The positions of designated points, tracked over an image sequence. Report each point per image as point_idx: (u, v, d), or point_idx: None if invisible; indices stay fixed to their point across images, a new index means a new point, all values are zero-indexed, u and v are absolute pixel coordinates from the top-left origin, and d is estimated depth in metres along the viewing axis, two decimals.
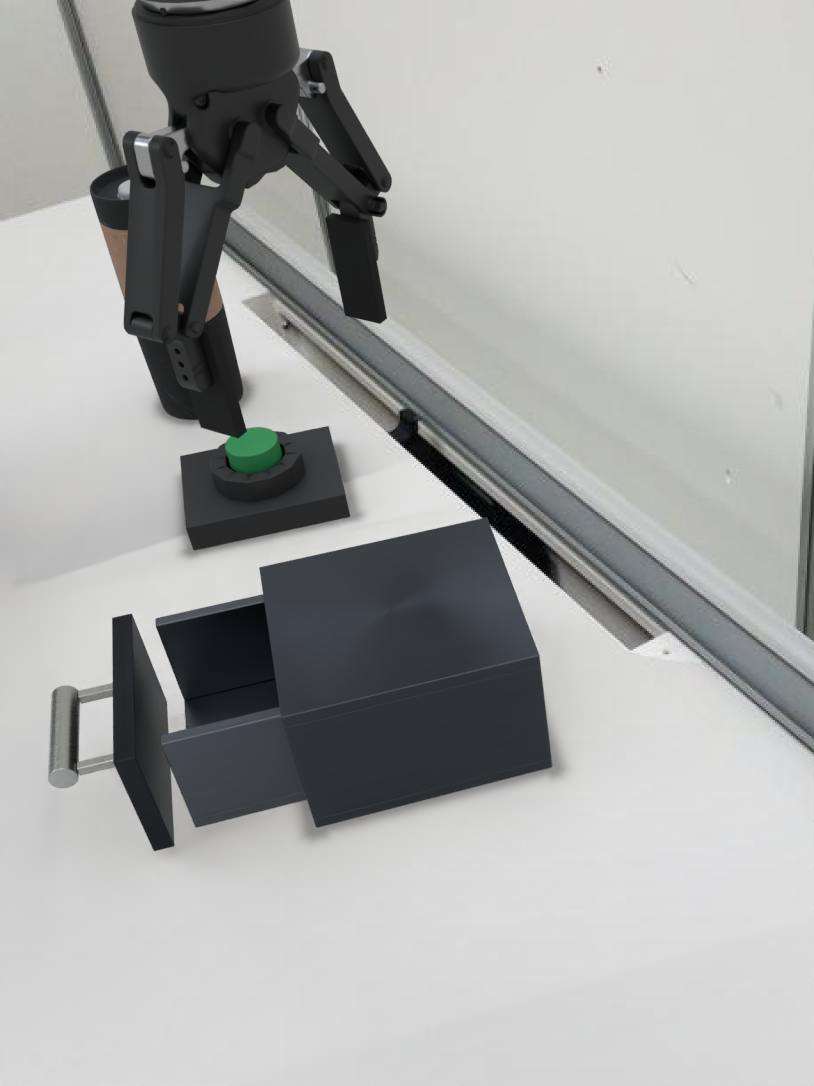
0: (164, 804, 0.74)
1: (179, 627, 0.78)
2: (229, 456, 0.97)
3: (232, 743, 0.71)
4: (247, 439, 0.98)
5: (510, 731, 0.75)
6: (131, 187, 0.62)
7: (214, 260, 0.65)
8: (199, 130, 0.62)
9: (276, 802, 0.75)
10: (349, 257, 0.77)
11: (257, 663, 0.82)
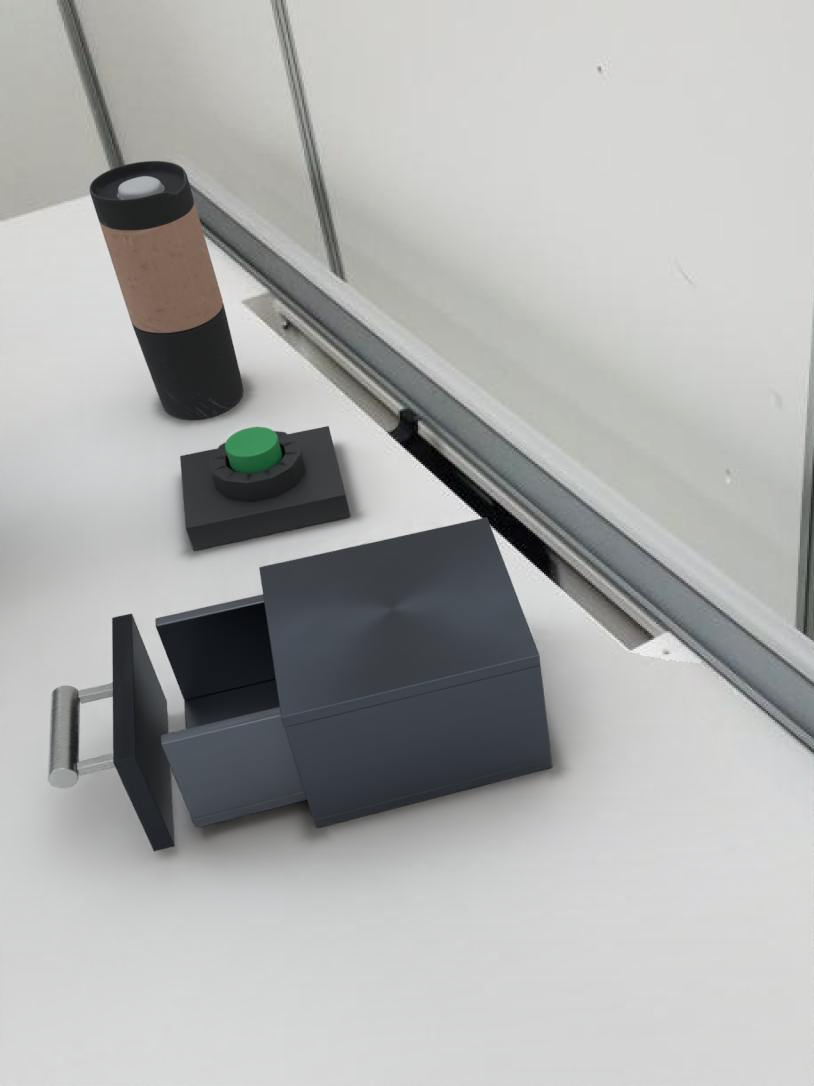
0: (164, 804, 0.74)
1: (179, 627, 0.78)
2: (229, 456, 0.97)
3: (232, 743, 0.71)
4: (247, 439, 0.98)
5: (510, 731, 0.75)
6: None
7: None
8: None
9: (276, 802, 0.75)
10: None
11: (257, 663, 0.82)
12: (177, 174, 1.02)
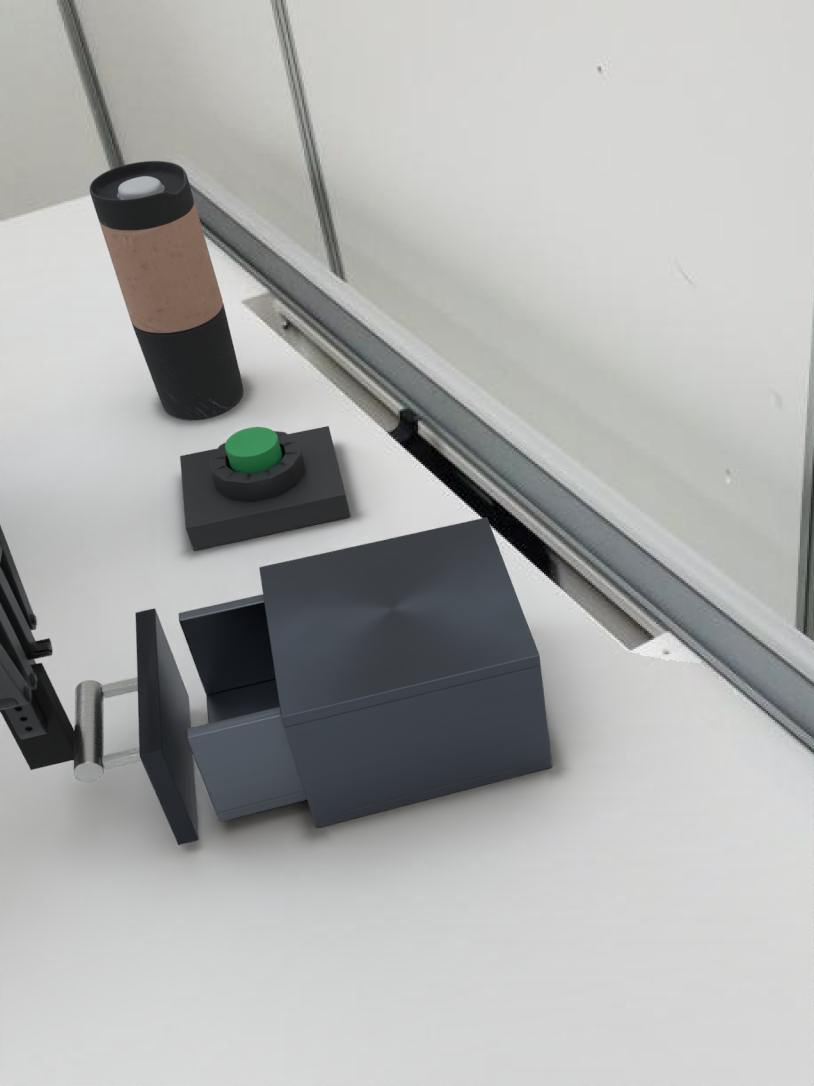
0: (188, 798, 0.74)
1: (202, 622, 0.78)
2: (229, 456, 0.97)
3: (256, 737, 0.72)
4: (247, 439, 0.98)
5: (510, 731, 0.75)
6: None
7: (9, 627, 0.68)
8: None
9: (300, 796, 0.76)
10: None
11: None
12: (177, 174, 1.02)
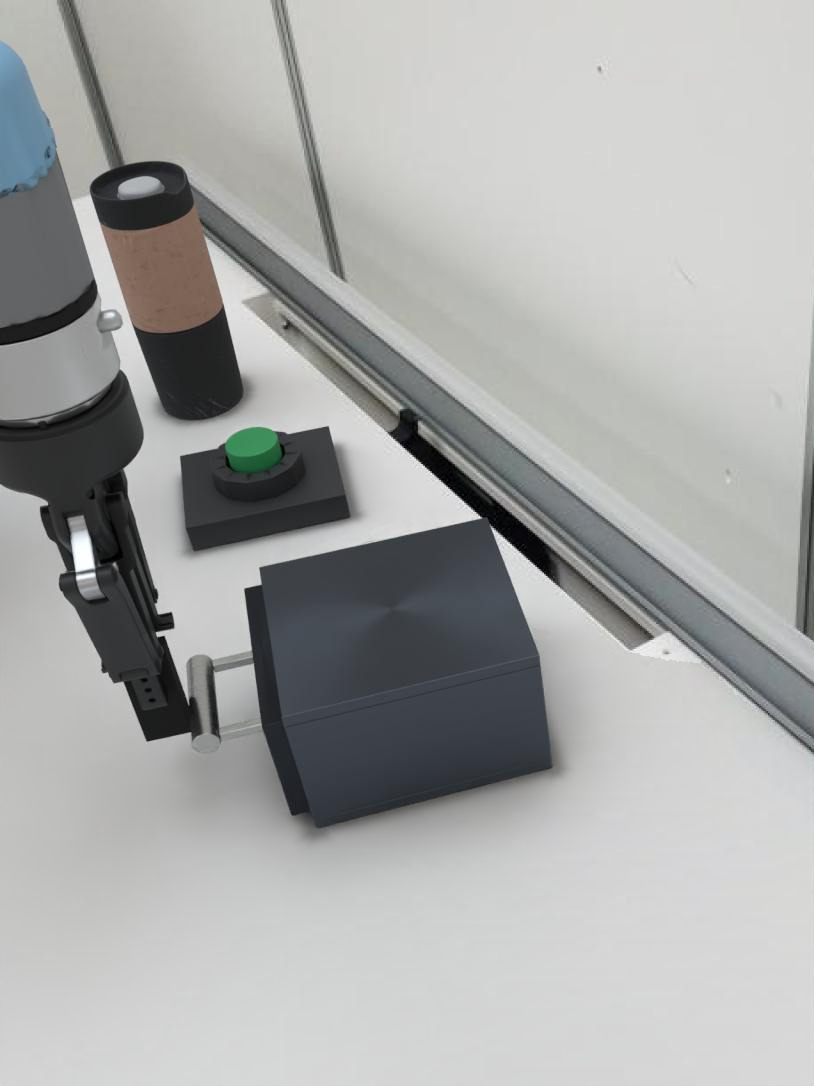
0: None
1: None
2: (229, 456, 0.97)
3: None
4: (247, 439, 0.98)
5: (510, 731, 0.75)
6: (78, 610, 0.63)
7: (142, 599, 0.69)
8: (97, 519, 0.62)
9: None
10: None
11: None
12: (177, 174, 1.02)
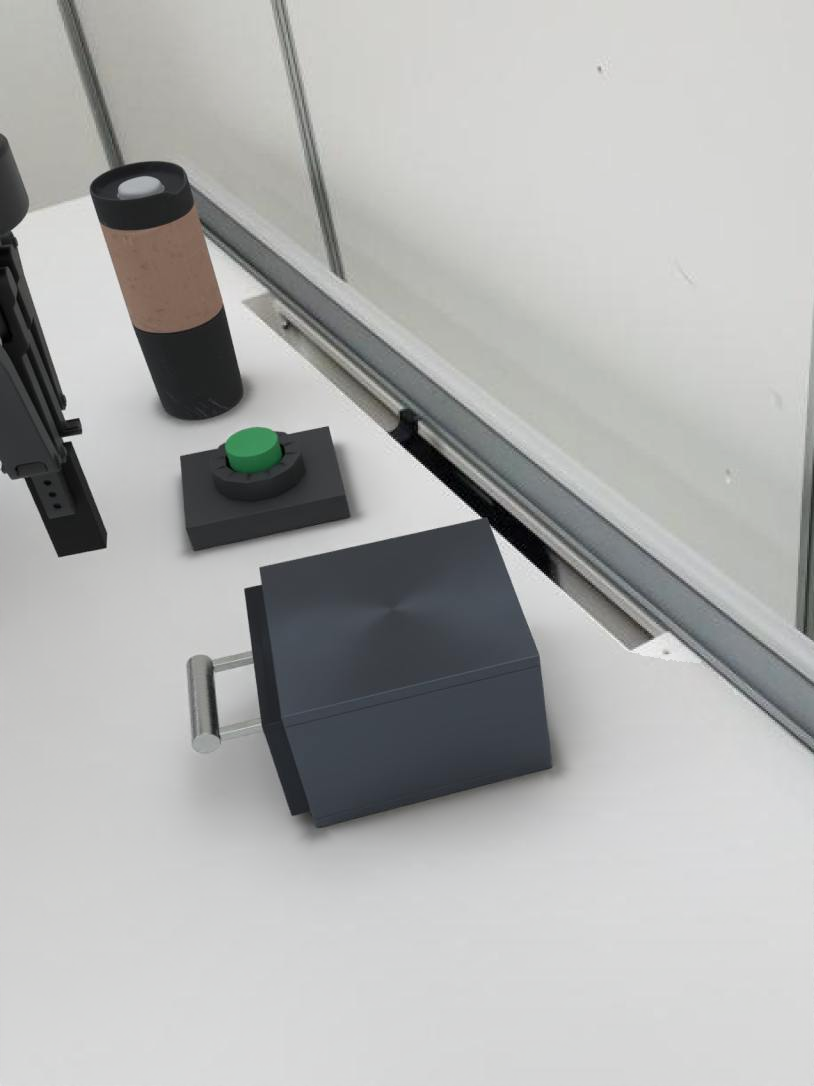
0: None
1: None
2: (229, 456, 0.97)
3: None
4: (247, 439, 0.98)
5: (510, 731, 0.75)
6: None
7: (40, 392, 0.66)
8: None
9: None
10: None
11: None
12: (177, 174, 1.02)
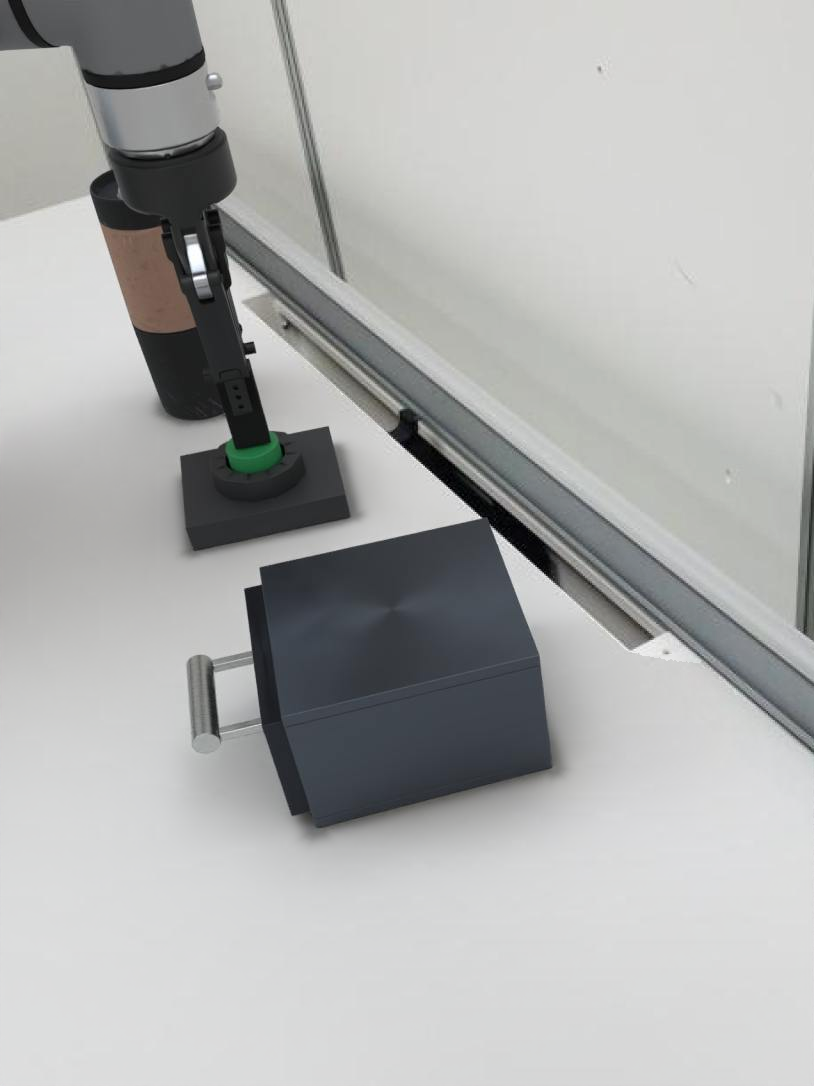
0: None
1: None
2: (230, 458, 0.97)
3: None
4: None
5: (510, 731, 0.75)
6: (192, 308, 0.84)
7: (234, 318, 0.90)
8: (206, 236, 0.83)
9: None
10: None
11: None
12: None
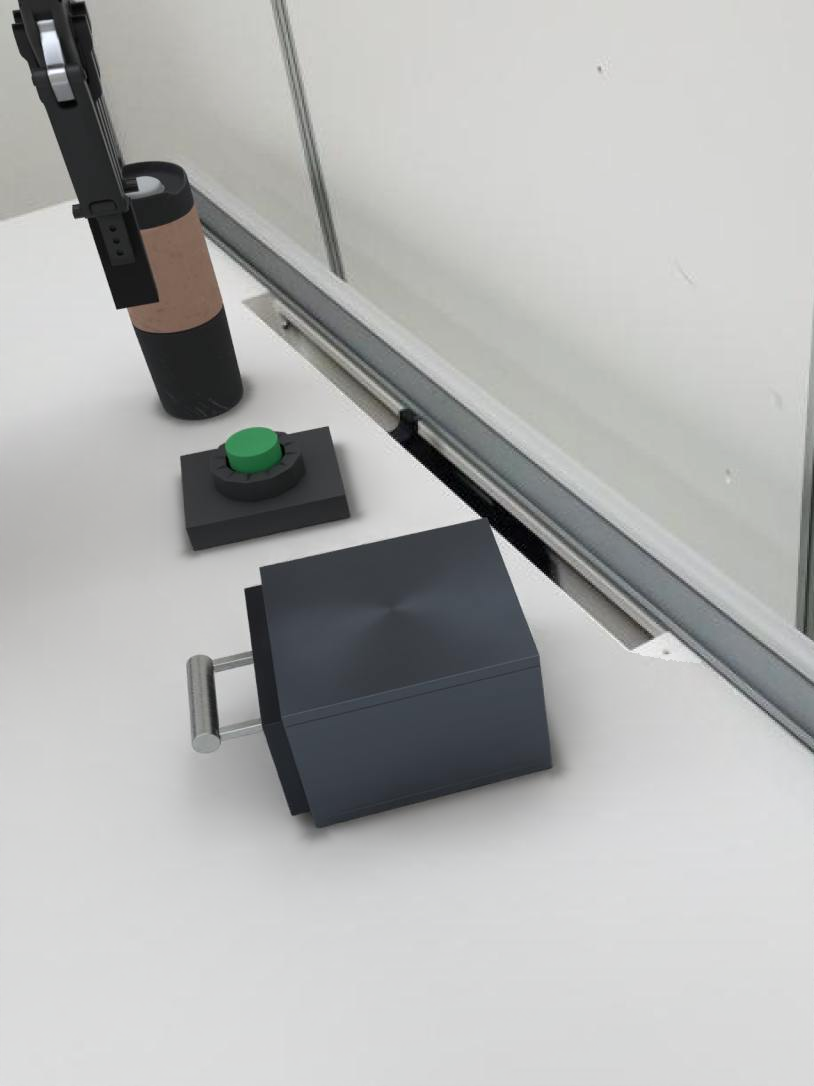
0: None
1: None
2: (229, 456, 0.97)
3: None
4: (247, 439, 0.98)
5: (510, 731, 0.75)
6: (49, 114, 0.69)
7: (108, 140, 0.75)
8: (64, 22, 0.68)
9: None
10: None
11: None
12: (177, 174, 1.02)
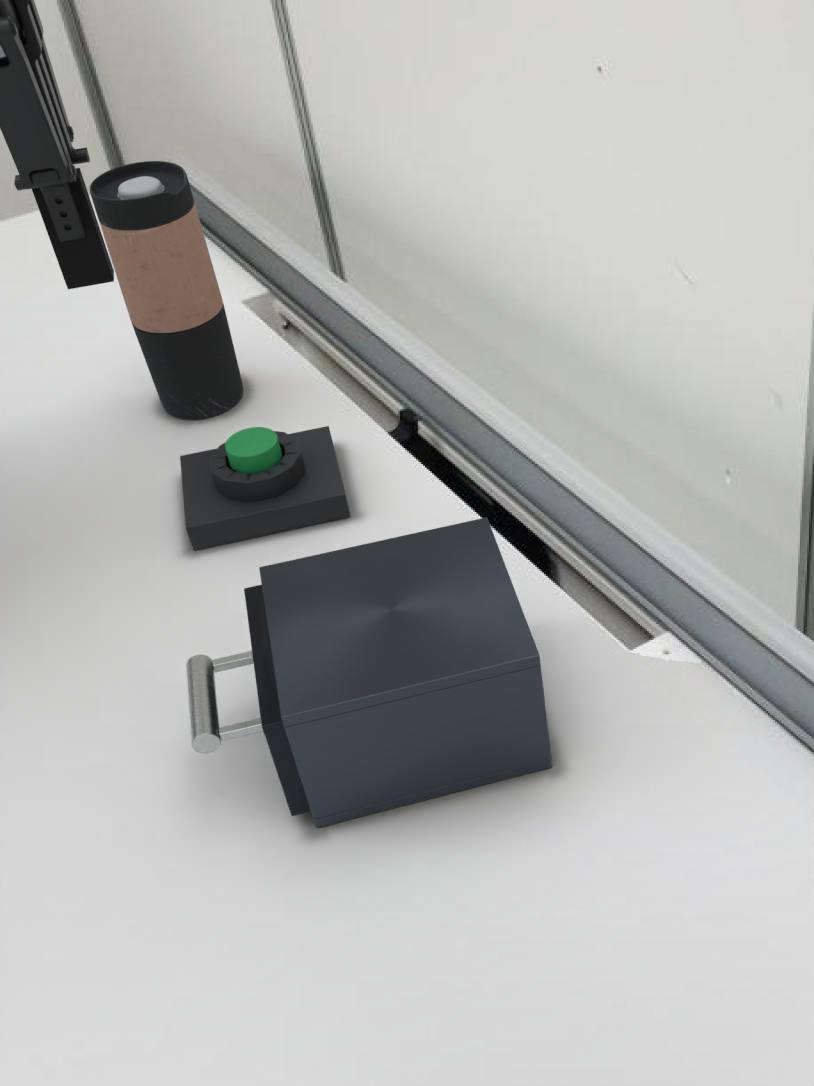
0: None
1: None
2: (229, 456, 0.97)
3: None
4: (247, 439, 0.98)
5: (510, 731, 0.75)
6: None
7: (51, 105, 0.70)
8: None
9: None
10: None
11: None
12: (177, 174, 1.02)
